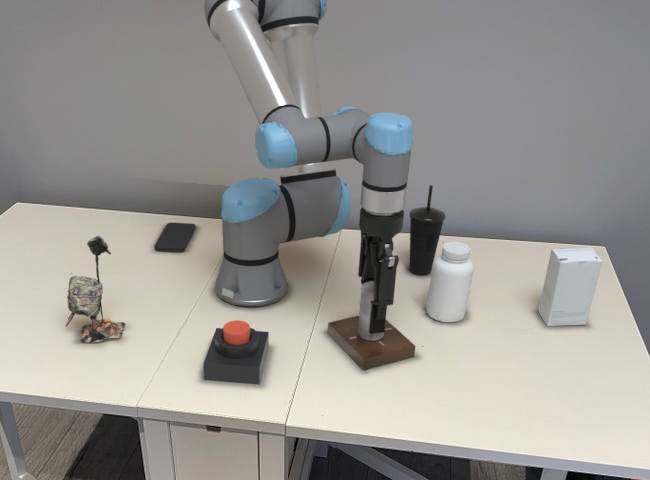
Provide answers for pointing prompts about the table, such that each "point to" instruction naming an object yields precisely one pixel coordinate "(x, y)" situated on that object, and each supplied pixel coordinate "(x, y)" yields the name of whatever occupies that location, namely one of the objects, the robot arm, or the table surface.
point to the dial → (367, 312)
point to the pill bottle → (450, 283)
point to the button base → (236, 358)
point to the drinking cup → (424, 237)
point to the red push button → (236, 332)
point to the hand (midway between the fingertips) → (371, 323)
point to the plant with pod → (91, 301)
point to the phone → (175, 237)
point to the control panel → (370, 344)
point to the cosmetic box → (569, 286)
